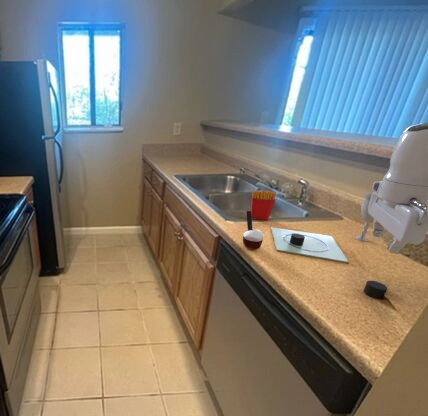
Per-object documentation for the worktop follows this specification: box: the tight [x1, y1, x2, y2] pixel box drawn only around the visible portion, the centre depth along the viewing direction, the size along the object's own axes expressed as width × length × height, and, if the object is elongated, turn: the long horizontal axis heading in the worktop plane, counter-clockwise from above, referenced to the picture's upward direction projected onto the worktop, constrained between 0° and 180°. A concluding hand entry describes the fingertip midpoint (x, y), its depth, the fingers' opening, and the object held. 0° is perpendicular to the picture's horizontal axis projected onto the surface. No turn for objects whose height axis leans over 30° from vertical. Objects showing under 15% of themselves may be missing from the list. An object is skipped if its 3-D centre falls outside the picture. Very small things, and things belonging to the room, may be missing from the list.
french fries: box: [250, 189, 277, 221], centre depth 120 cm, size 9×4×13 cm, turn 72°
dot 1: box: [290, 233, 305, 246], centre depth 99 cm, size 4×4×3 cm
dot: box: [363, 280, 388, 300], centre depth 73 cm, size 4×4×3 cm
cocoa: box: [242, 210, 265, 250], centre depth 97 cm, size 10×6×12 cm, turn 159°
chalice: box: [354, 193, 374, 242], centre depth 96 cm, size 7×7×18 cm
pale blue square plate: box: [270, 226, 350, 264], centre depth 100 cm, size 20×20×1 cm
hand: (384, 243), depth 71 cm, fingers open, 8 cm apart
